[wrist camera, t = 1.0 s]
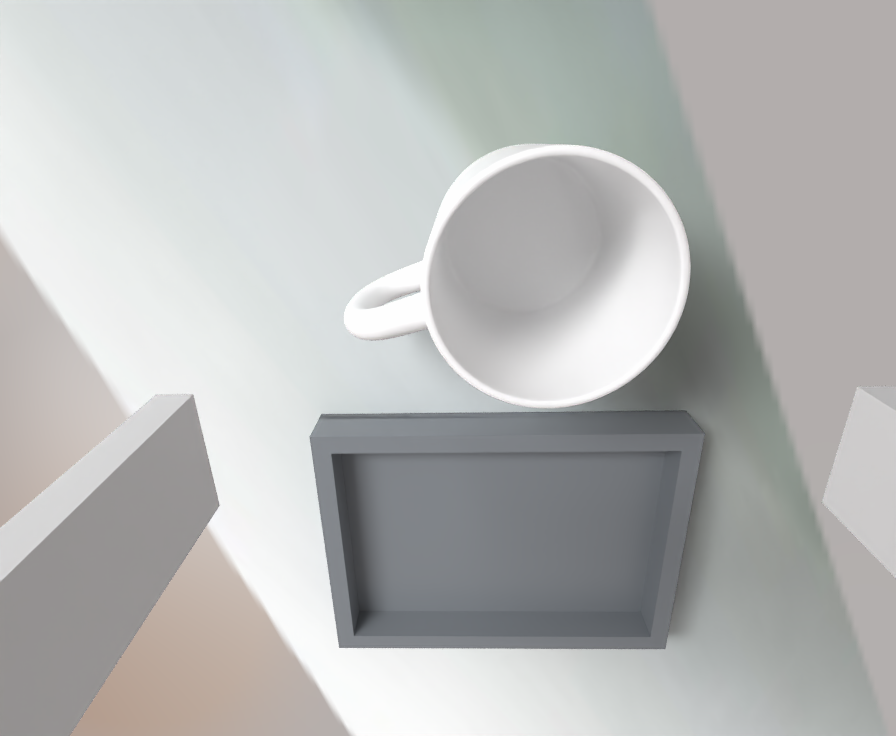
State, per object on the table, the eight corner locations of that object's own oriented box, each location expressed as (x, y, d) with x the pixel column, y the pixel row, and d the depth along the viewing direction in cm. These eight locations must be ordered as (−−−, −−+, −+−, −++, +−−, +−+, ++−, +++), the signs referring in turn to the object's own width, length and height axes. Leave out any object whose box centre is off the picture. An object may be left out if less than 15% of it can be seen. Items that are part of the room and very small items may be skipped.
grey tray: (321, 414, 30) (309, 437, 28) (685, 410, 29) (704, 433, 27) (347, 615, 36) (339, 647, 33) (651, 615, 35) (665, 649, 33)
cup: (621, 293, 27) (707, 373, 18) (395, 356, 29) (362, 460, 19) (589, 118, 24) (671, 102, 15) (338, 200, 25) (266, 233, 16)
